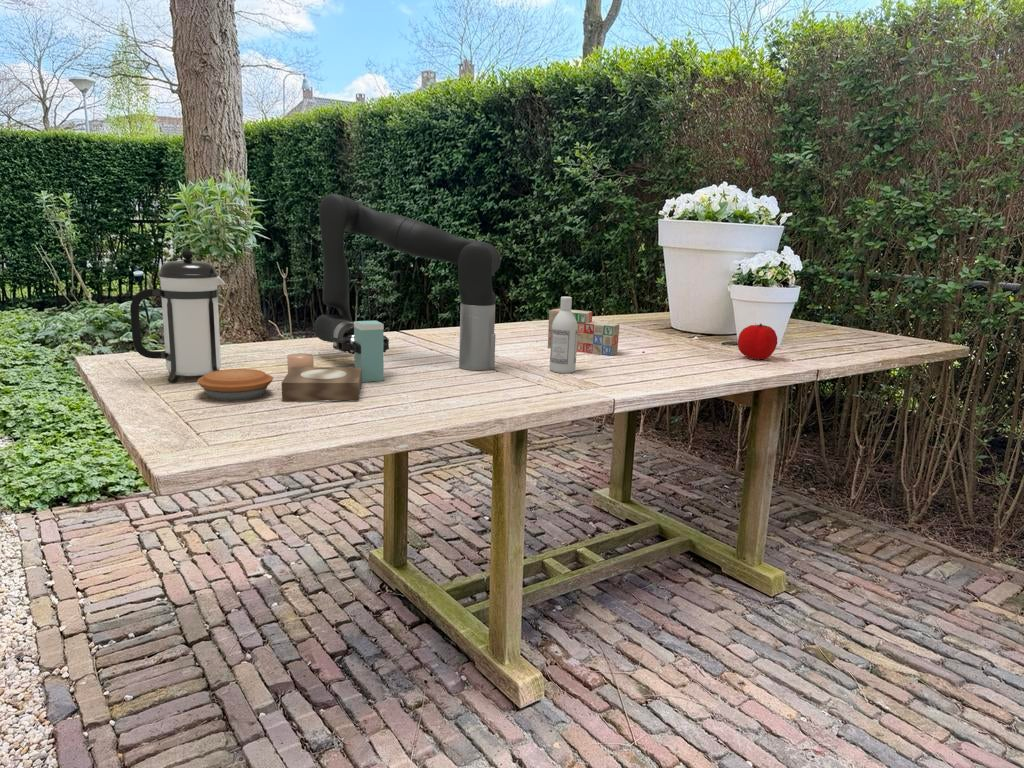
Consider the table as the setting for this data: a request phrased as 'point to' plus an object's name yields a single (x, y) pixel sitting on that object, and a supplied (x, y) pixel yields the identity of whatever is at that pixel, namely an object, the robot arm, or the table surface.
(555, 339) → the bath foam
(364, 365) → the carton
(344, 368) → the tissue box
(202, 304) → the coffee press
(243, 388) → the pie
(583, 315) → the stack of blocks
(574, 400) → the table surface
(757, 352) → the tomato
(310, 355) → the beige block
